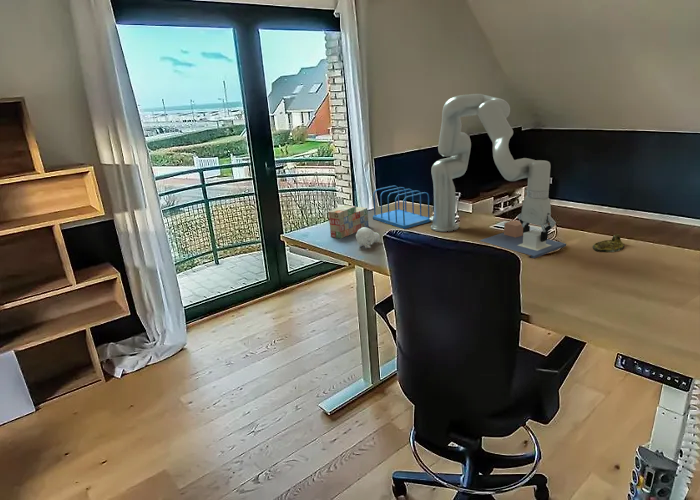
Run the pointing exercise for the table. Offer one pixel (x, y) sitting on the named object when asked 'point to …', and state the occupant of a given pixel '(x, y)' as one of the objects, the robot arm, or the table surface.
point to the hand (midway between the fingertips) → (534, 238)
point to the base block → (533, 239)
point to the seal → (609, 245)
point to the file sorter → (401, 211)
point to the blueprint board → (518, 245)
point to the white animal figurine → (366, 237)
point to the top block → (513, 229)
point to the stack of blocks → (347, 220)
